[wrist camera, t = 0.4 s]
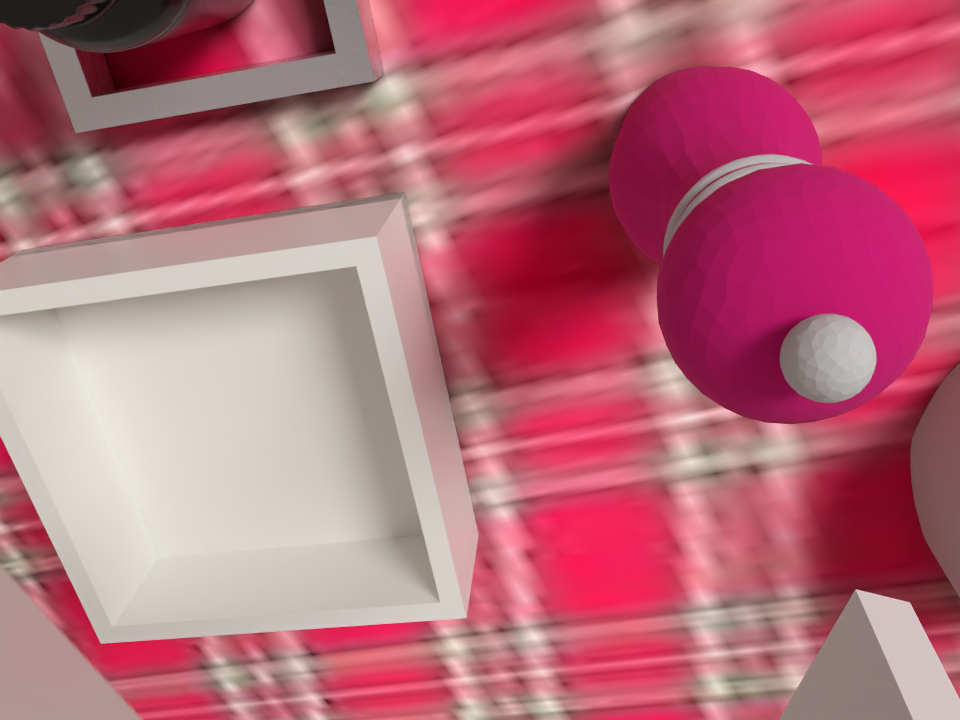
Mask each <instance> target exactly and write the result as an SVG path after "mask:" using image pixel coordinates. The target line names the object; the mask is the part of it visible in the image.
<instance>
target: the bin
mask: <svg viewBox="0 0 960 720" xmlns="http://www.w3.org/2000/svg"><path fill="white" fill-rule="evenodd" d="M0 436H1V438H2V440H3V442H4V444H5V447H6V449H7V451H8V453H9V455H10V457H11V459H12V461H13V463H14V465H15V467H16V469H17V471H18V473H19V475H20V478H21V480H22V482H23V484H24V486H25V488H26V490H27V492H28V494H29V496H30V498H31V500H32V502H33V504H34V507H35V509H36V511H37V513H38V515H39V517H40V519H41V521H42V523H43V525H44V527H45V529H46V531H47V533H48V535H49V538H50V540H51V542H52V544H53V546H54V548H55V550H56V552H57V554H58V556H59V558H60V560H61V562H62V564H63V566H64V569H65V571H66V573H67V575H68V577H69V579H70V581H71V583H72V585H73V587H74V589H75V591H76V593H77V595H78V597H79V600H80V602H81V604H82V606H83V608H84V610H85V612H86V614H87V616H88V618H89V620H90V622H91V624H92V626H93V628H94V631H95V633H96V635H97V637H98V639H99V641H100V643H101V644H102V643H116V642H131V641H145V640H159V639H174V638H188V637H202V636H217V635H231V634H245V633H260V632H274V631H288V630H303V629H317V628H331V627H346V626H360V625H374V624H389V623H403V622H417V621H432V620H446V619H460V618H466V617H467V610H468V604H469V597H470V590H471V583H472V576H473V569H474V562H475V555H476V549H477V542H478V535H479V534H478V529H477V525H476V520H475V515H474V511H473V506H472V502H471V497H470V492H469V488H468V483H467V478H466V474H465V469H464V464H463V460H462V455H461V451H460V446H459V441H458V437H457V432H456V427H455V423H454V418H453V413H452V409H451V404H450V400H449V395H448V390H447V386H446V381H445V376H444V372H443V367H442V362H441V358H440V353H439V348H438V344H437V339H436V335H435V330H434V325H433V321H432V316H431V311H430V307H429V302H428V297H427V293H426V288H425V284H424V279H423V274H422V270H421V265H420V260H419V256H418V251H417V246H416V242H415V237H414V233H413V228H412V223H411V219H410V214H409V209H408V205H407V200H406V195H405V192H402V193H395V194H389V195H382V196H376V197H369V198H362V199H356V200H349V201H343V202H336V203H330V204H323V205H316V206H310V207H303V208H297V209H290V210H283V211H277V212H270V213H264V214H257V215H250V216H244V217H237V218H231V219H224V220H217V221H211V222H204V223H198V224H191V225H185V226H178V227H171V228H165V229H158V230H152V231H145V232H138V233H132V234H125V235H119V236H112V237H105V238H99V239H92V240H86V241H79V242H73V243H66V244H59V245H53V246H46V247H40V248H33V249H26V250H22V251H20V252H18V253H16V254H15V255H13V256H11V257H9V258H8V259H6V260H4V261H2V262H1V263H0Z"/></svg>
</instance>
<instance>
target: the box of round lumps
mask: <svg viewBox="0 0 960 720" xmlns="http://www.w3.org/2000/svg"><path fill="white" fill-rule="evenodd" d="M910 466H911V480H912V490H913V497H914V502H915V507H916V511H917V514H918V517H919V521H920V526H921V529H922V533H923V536H924V538H925V541H926V543H927V544H928V546H929V548H930V549H931V551H932V553H933V554H934V556H935V558H936V559H937V561H938V563H939V564H940V566H941V568H942V569H943V571H944V573H945V574H946V576H947V578H948V579H949V581H950V583H951V584H952V586H953V588H954V589H955V591H956V593H957V594H958V596H959V598H960V363H959V364H958V365H957V366H956V367H955V368H954V369H953V370H952V371H951V372H950V373H949V374H948V375H947V377H946V378H945V379H944V380H943V382H942V383H941V385H940V386H939V387H938V389H937V391H936V392H935V394H934V396H933V397H932V399H931V401H930V402H929V404H928V406H927V408H926V410H925V412H924V413H923V415H922V417H921V419H920V421H919V424H918V426H917V428H916V430H915V432H914V435H913V438H912V441H911V450H910Z"/></svg>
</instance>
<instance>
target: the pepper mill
mask: <svg viewBox="0 0 960 720" xmlns="http://www.w3.org/2000/svg"><path fill="white" fill-rule="evenodd" d="M609 191H610V196H611V201H612V205H613V208H614V210H615V213H616V216H617V218H618V220H619V222H620V224H621V226H622V227H623V229H624V231H625V233H626V234H627V236H628V238H629V239H630V240H631V242H632V243H633V244H634V245H635V247H636V248H637V249H638V250H639V251H640V252H642V253H643V254H644V255H645V256H646V257H647V258H649V259H650V260H651V261H652V262H654V263H656V264H658V265H659V266H661V267H660V270H659V274H658V280H657V307H658V320H659V325H660V328H661V331H662V334H663V337H664V339H665V342H666V345H667V347H668V349H669V351H670V353H671V355H672V357H673V359H674V361H675V363H676V364H677V366H678V367H679V368H680V370H681V371H682V372H683V374H684V375H685V376H686V378H687V379H688V380H689V381H690V382H691V383H692V384H693V385H694V386H695V387H696V388H697V389H698V390H699V391H700V392H701V393H702V394H704V395H705V396H707V397H708V398H710V399H712V400H713V401H715V402H716V403H718V404H719V405H721V406H722V407H724V408H726V409H728V410H730V411H732V412H734V413H736V414H739V415H741V416H743V417H746V418H750V419H754V420H758V421H762V422H767V423H782V424H797V423H806V422H815V421H819V420H823V419H827V418H831V417H835V416H838V415H841V414H843V413H846V412H848V411H851V410H853V409H856V408H858V407H859V406H861V405H863V404H864V403H866V402H868V401H869V400H871V399H873V398H874V397H876V396H877V395H879V394H880V393H881V392H882V391H884V390H885V389H886V388H887V387H888V386H889V385H890V384H892V383H893V382H894V381H895V380H896V379H897V378H898V377H899V376H900V375H901V374H902V373H903V371H904V370H905V369H906V367H907V366H908V365H909V363H910V362H911V361H912V360H913V358H914V356H915V355H916V353H917V351H918V349H919V347H920V345H921V343H922V341H923V340H924V337H925V334H926V330H927V326H928V322H929V318H930V315H931V311H932V302H933V279H932V271H931V264H930V259H929V256H928V254H927V251H926V248H925V246H924V243H923V240H922V238H921V236H920V234H919V232H918V231H917V229H916V227H915V226H914V224H913V222H912V221H911V219H910V218H909V216H908V215H907V214H906V213H905V212H904V211H903V209H902V208H901V207H900V206H899V205H898V204H897V203H895V202H894V201H893V200H892V199H891V198H890V197H888V196H887V195H886V194H885V193H884V192H882V191H881V190H880V189H879V188H878V187H876V186H875V185H873V184H871V183H869V182H867V181H865V180H863V179H861V178H860V177H858V176H856V175H854V174H851V173H848V172H845V171H843V170H840V169H837V168H834V167H827V166H822V152H821V148H820V144H819V139H818V135H817V133H816V130H815V128H814V126H813V124H812V122H811V119H810V118H809V117H808V115H807V114H806V112H805V111H804V109H803V108H802V106H801V105H800V104H799V103H798V102H797V100H796V99H795V98H794V97H793V96H792V95H791V94H790V93H789V92H788V91H787V90H786V89H785V88H784V87H782V86H781V85H779V84H777V83H776V82H774V81H773V80H771V79H770V78H768V77H765V76H763V75H760V74H758V73H756V72H753V71H750V70H745V69H740V68H733V67H695V68H689V69H684V70H680V71H677V72H674V73H672V74H669V75H666V76H665V77H663V78H661V79H659V80H658V81H656V82H655V83H653V84H652V85H651V86H649V87H648V88H647V89H646V90H645V91H644V92H643V93H642V94H641V95H640V96H639V97H638V98H637V99H636V100H635V102H634V103H633V104H632V106H631V107H630V109H629V110H628V112H627V114H626V116H625V119H624V121H623V123H622V125H621V128H620V131H619V135H618V137H617V139H616V141H615V144H614V147H613V151H612V154H611V158H610V166H609Z"/></svg>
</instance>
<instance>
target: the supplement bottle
mask: <svg viewBox="0 0 960 720" xmlns="http://www.w3.org/2000/svg"><path fill="white" fill-rule="evenodd" d="M252 1H253V0H0V23H5V24H7V25H8V26H10V27H12V28H15V29H19V28H25V29H28V30H32V31H38V32H39V33H41V34H43V35H44V36H46V37H48V38H50V39H52V40H54V41H56V42H58V43H61V44H63V45H66V46H68V47H72V48H75V49H79V50H84V51H89V52H99V53H111V52H120V51H126V50H131V49H135V48H139V47H143V46H146V45H150V44H154V43H157V42H161V41H164V40H168V39H171V38H175V37H178V36H182V35H185V34H189V33H192V32H196V31H199V30H203V29H206V28H210V27H213V26H216V25H218V24H221V23H224V22H226V21H228V20H230V19H232V18H233V17H235V16H236V15H238V14H239V13H241V12H242V11H243V10H244V9H245V8H246V7H247V6H248V5H249V4H250V3H251V2H252Z"/></svg>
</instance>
